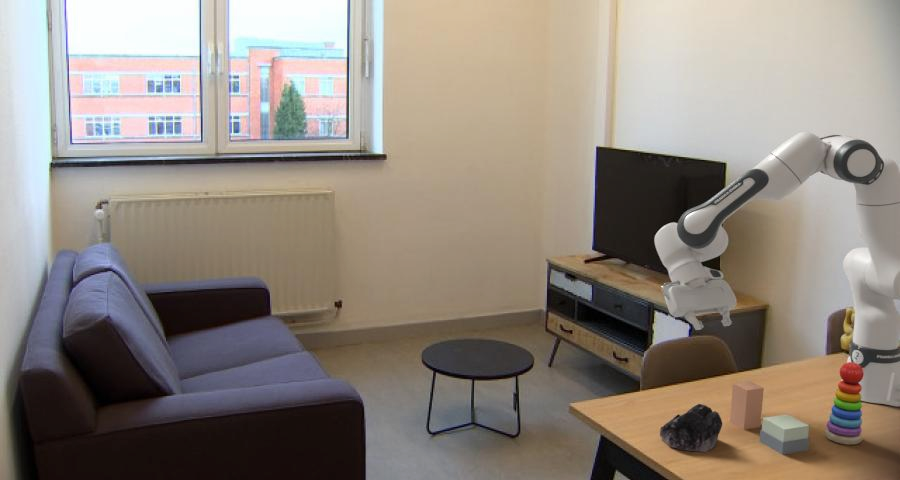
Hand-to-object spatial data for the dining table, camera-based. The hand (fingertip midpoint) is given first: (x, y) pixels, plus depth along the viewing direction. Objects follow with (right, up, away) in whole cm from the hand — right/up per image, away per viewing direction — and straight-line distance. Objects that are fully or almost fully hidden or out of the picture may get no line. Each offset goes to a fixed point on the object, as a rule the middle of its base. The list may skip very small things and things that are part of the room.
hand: (714, 326), depth 220 cm
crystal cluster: (-11, -25, -17) cm, 32 cm away
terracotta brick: (+5, -23, -7) cm, 25 cm away
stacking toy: (+26, -25, -14) cm, 39 cm away
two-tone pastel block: (+10, -26, -19) cm, 33 cm away
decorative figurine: (+59, -13, +50) cm, 78 cm away
